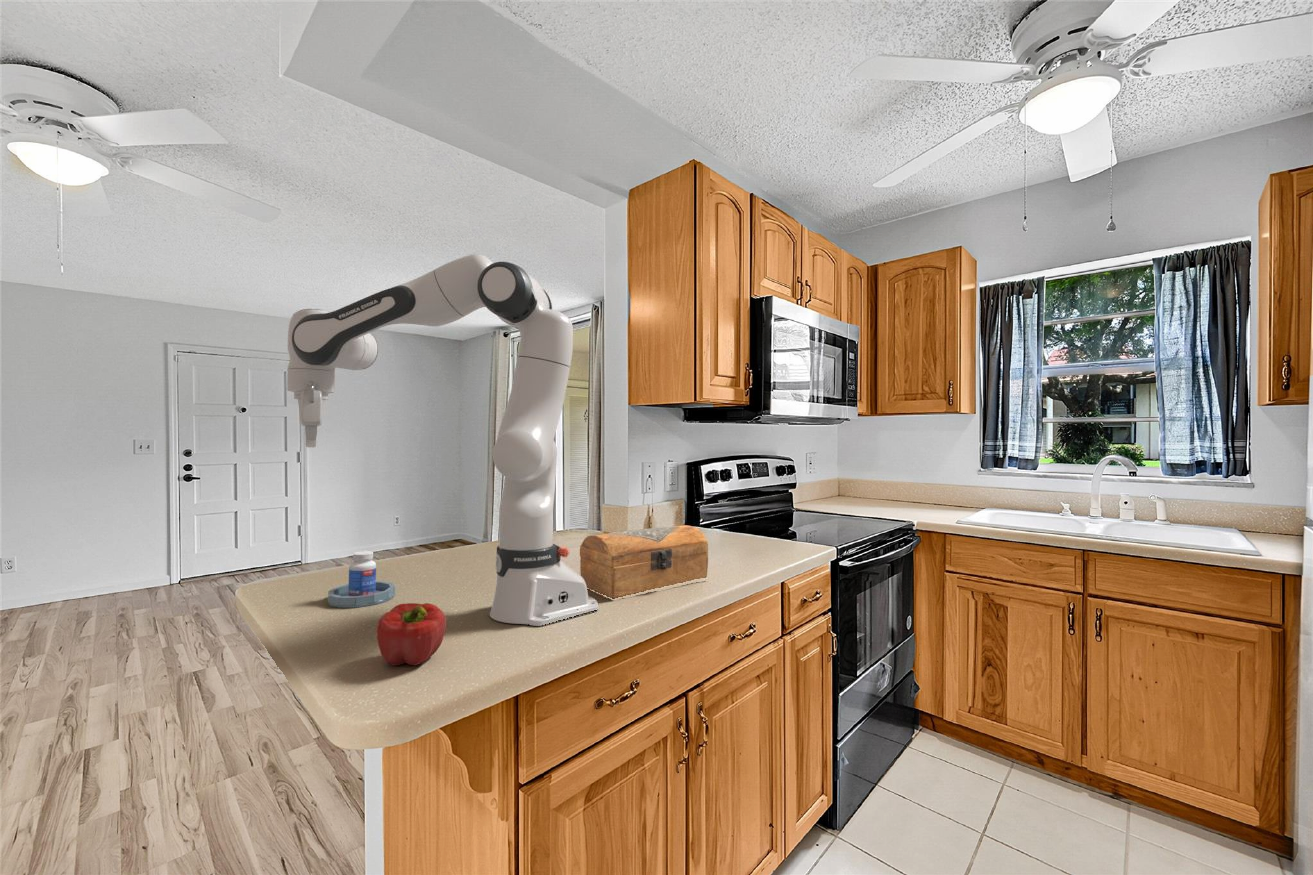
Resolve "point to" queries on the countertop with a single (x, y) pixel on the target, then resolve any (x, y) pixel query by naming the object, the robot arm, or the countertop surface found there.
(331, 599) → the dish
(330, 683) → the countertop surface
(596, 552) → the wooden box
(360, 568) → the pill bottle
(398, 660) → the vegetable
